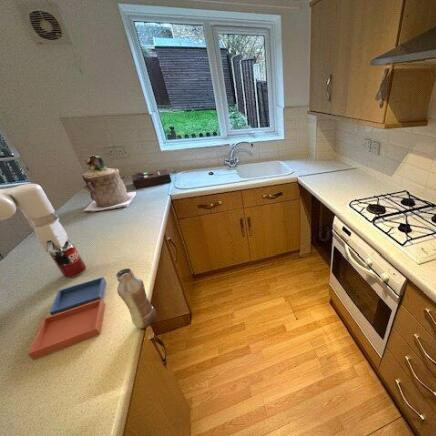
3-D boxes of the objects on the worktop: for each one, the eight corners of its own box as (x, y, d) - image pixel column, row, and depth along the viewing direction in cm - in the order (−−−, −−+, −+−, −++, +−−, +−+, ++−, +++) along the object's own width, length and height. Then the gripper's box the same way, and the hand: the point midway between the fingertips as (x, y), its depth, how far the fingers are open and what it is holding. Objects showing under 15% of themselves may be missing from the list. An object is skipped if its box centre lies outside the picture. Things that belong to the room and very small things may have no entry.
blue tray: (53, 318, 77) (49, 312, 76) (62, 295, 86) (58, 290, 84) (102, 301, 83) (99, 296, 81) (106, 281, 91) (103, 276, 90)
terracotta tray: (33, 359, 65) (27, 353, 64) (47, 323, 75) (43, 318, 74) (100, 334, 71) (96, 328, 70) (105, 304, 82) (102, 298, 80)
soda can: (59, 276, 95) (44, 251, 89) (79, 265, 101) (65, 241, 95) (71, 280, 93) (56, 255, 87) (91, 268, 99) (77, 244, 93)
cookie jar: (137, 193, 171) (121, 148, 156) (129, 207, 151) (109, 156, 135) (98, 198, 165) (76, 152, 149) (83, 214, 144) (56, 161, 129)
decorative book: (172, 173, 186) (128, 181, 173) (175, 182, 190) (131, 190, 176) (169, 167, 201) (127, 174, 187) (171, 176, 205) (131, 183, 191)
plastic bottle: (133, 334, 71) (106, 284, 61) (136, 317, 76) (112, 268, 67) (157, 326, 73) (135, 277, 63) (158, 310, 79) (138, 262, 69)
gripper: (37, 211, 90) (60, 250, 99) (19, 232, 77) (48, 274, 85) (63, 207, 93) (83, 244, 102) (49, 226, 80) (74, 267, 88)
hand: (67, 258), depth 93 cm, fingers closed on soda can, 7 cm apart
